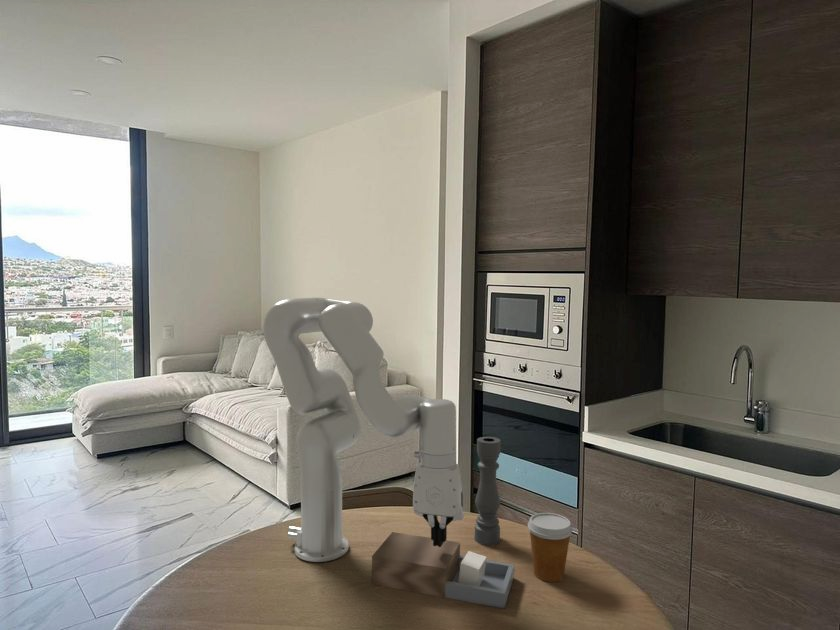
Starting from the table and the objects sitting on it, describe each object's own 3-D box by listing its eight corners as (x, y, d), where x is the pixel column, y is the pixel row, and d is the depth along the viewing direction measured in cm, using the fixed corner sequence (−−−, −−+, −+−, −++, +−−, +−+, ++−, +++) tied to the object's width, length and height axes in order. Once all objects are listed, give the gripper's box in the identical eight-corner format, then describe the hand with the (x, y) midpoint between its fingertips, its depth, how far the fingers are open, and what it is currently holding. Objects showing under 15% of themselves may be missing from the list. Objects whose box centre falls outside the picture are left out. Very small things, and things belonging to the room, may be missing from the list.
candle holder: (499, 546, 136) (500, 444, 135) (473, 543, 137) (474, 442, 136) (500, 535, 142) (502, 437, 141) (475, 532, 143) (477, 435, 142)
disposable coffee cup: (546, 590, 117) (547, 534, 116) (517, 569, 126) (518, 516, 125) (580, 579, 122) (582, 525, 121) (551, 559, 130) (552, 508, 129)
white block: (460, 563, 116) (479, 569, 115) (468, 550, 121) (486, 556, 119) (458, 584, 117) (476, 591, 116) (466, 571, 122) (483, 578, 120)
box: (445, 597, 114) (445, 583, 114) (459, 568, 126) (459, 555, 125) (504, 608, 110) (504, 593, 110) (513, 578, 122) (514, 564, 122)
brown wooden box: (371, 583, 119) (371, 556, 119) (392, 557, 130) (392, 531, 130) (445, 597, 114) (445, 568, 114) (459, 568, 126) (460, 542, 125)
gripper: (398, 460, 118) (399, 546, 119) (469, 467, 113) (469, 557, 114) (410, 450, 125) (411, 531, 126) (477, 456, 120) (477, 540, 122)
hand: (438, 543), depth 120 cm, fingers closed
